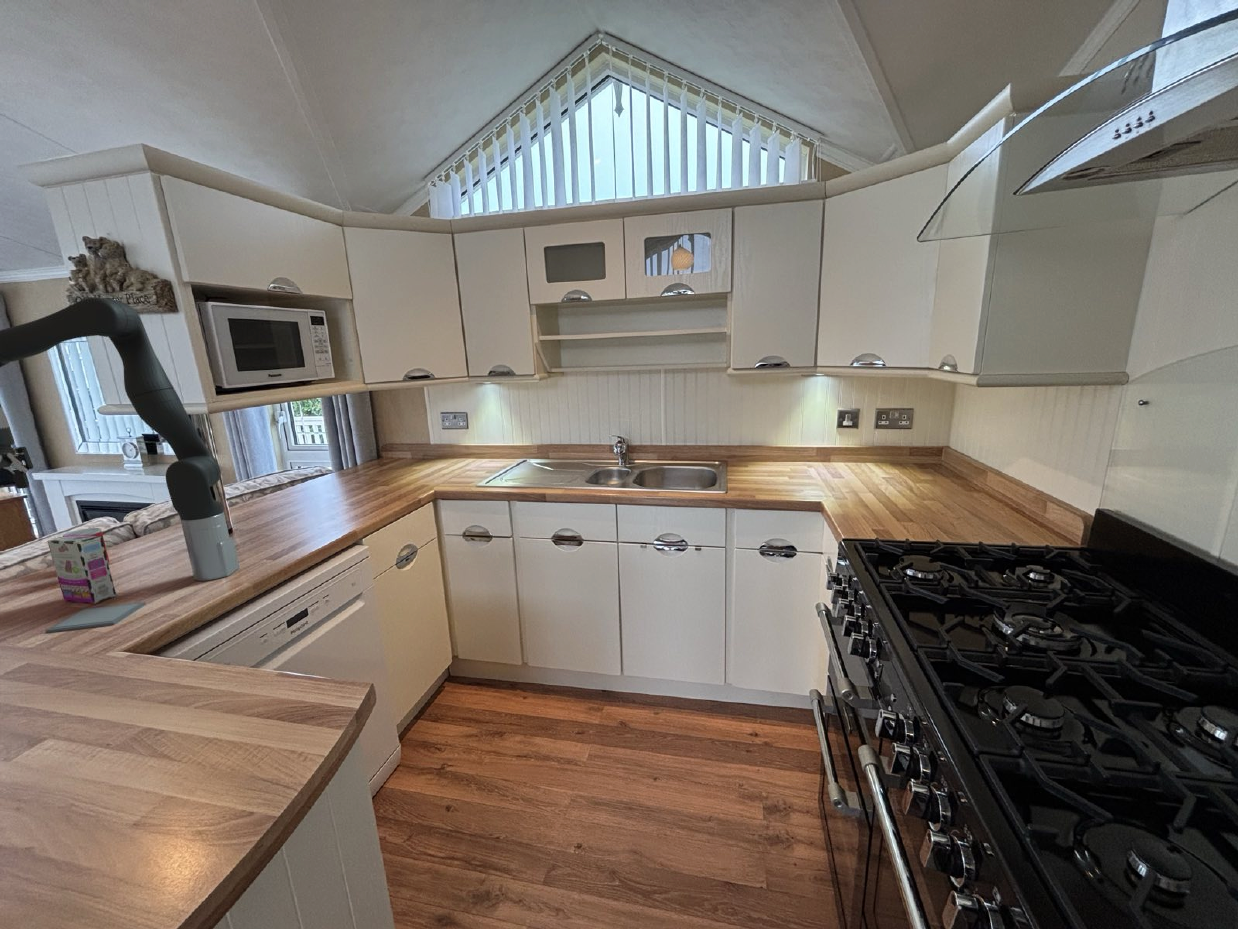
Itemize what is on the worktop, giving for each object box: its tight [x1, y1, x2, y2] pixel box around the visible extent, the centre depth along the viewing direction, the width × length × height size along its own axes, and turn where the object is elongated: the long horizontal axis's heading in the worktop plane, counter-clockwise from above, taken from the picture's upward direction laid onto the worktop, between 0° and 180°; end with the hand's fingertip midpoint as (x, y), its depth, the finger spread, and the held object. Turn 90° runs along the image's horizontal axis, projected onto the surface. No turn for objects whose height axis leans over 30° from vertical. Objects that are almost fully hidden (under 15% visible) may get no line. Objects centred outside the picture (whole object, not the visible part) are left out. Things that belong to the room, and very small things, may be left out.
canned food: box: [62, 527, 110, 565], centre depth 147 cm, size 8×8×11 cm
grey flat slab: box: [44, 601, 147, 633], centre depth 116 cm, size 13×10×1 cm
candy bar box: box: [46, 535, 117, 605], centre depth 125 cm, size 11×5×16 cm, turn 76°
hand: (7, 492), depth 124 cm, fingers open, 8 cm apart
